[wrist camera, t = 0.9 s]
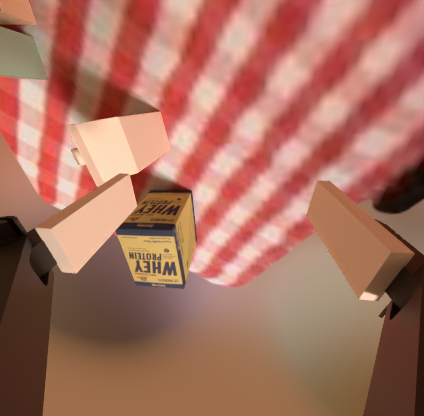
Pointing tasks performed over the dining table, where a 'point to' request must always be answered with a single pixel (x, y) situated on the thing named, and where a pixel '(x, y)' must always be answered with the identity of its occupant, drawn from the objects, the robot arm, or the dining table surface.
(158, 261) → the protein box
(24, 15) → the block
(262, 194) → the dining table surface
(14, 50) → the pale green block
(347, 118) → the dining table surface
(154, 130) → the milk carton
